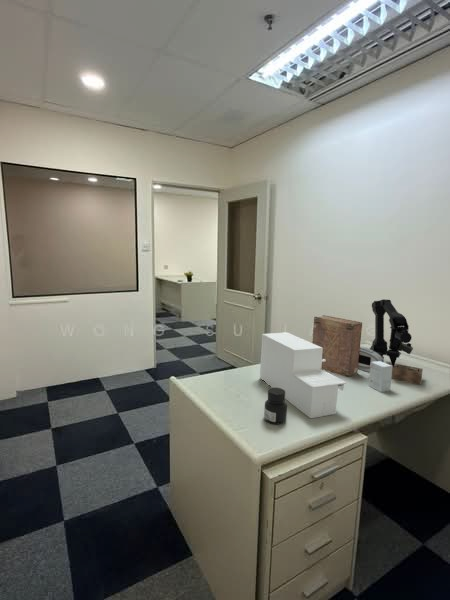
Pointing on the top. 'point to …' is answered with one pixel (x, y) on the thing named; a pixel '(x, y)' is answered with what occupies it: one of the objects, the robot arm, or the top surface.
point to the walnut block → (406, 374)
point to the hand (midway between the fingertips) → (393, 365)
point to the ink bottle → (275, 406)
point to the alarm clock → (367, 358)
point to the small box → (380, 376)
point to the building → (299, 373)
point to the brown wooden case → (338, 343)
